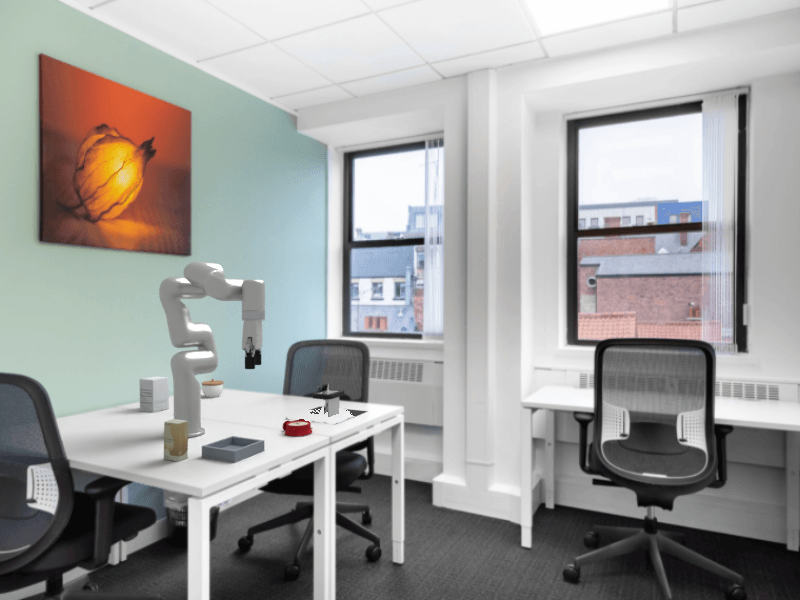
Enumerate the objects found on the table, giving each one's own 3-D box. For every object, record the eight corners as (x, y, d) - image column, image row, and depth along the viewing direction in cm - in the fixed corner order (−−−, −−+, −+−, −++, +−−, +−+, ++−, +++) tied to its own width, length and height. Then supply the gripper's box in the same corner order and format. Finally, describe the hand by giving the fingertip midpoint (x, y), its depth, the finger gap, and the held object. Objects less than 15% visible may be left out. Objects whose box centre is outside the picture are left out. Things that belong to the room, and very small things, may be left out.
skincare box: (163, 459, 168) (162, 421, 168) (173, 455, 172) (173, 418, 172) (178, 461, 166) (178, 423, 166) (188, 458, 170) (188, 420, 170)
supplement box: (155, 407, 249) (155, 375, 249) (169, 409, 245) (169, 377, 245) (138, 411, 241) (138, 378, 241) (152, 413, 237) (152, 379, 237)
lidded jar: (227, 395, 280) (227, 377, 280) (217, 399, 270) (217, 380, 270) (208, 394, 282) (208, 377, 282) (197, 398, 271) (197, 380, 271)
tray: (201, 456, 171) (201, 446, 171) (232, 445, 184) (232, 435, 184) (234, 462, 165) (234, 451, 165) (264, 450, 178) (264, 440, 178)
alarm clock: (289, 429, 193) (279, 412, 206) (288, 445, 194) (278, 427, 207) (316, 426, 198) (305, 409, 211) (315, 441, 199) (304, 424, 212)
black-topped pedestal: (319, 406, 251) (319, 378, 251) (368, 411, 240) (368, 382, 239) (283, 419, 225) (283, 387, 225) (335, 425, 214) (335, 392, 214)
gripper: (248, 315, 186) (248, 363, 186) (235, 317, 168) (235, 370, 168) (269, 315, 186) (269, 363, 186) (259, 317, 169) (259, 370, 169)
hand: (253, 366), depth 177 cm, fingers open, 9 cm apart
